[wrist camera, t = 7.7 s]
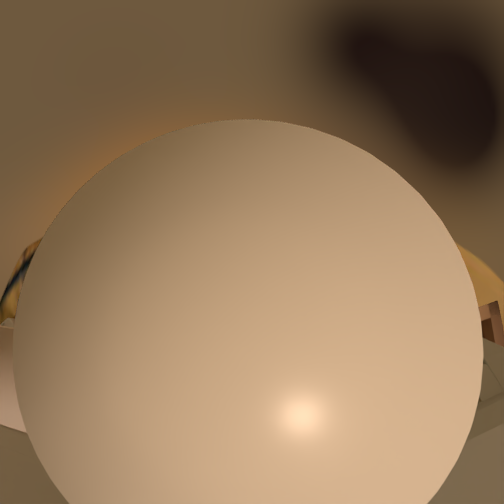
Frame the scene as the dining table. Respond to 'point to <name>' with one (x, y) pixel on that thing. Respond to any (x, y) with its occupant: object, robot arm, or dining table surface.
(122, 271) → the bottle
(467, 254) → the dining table surface
